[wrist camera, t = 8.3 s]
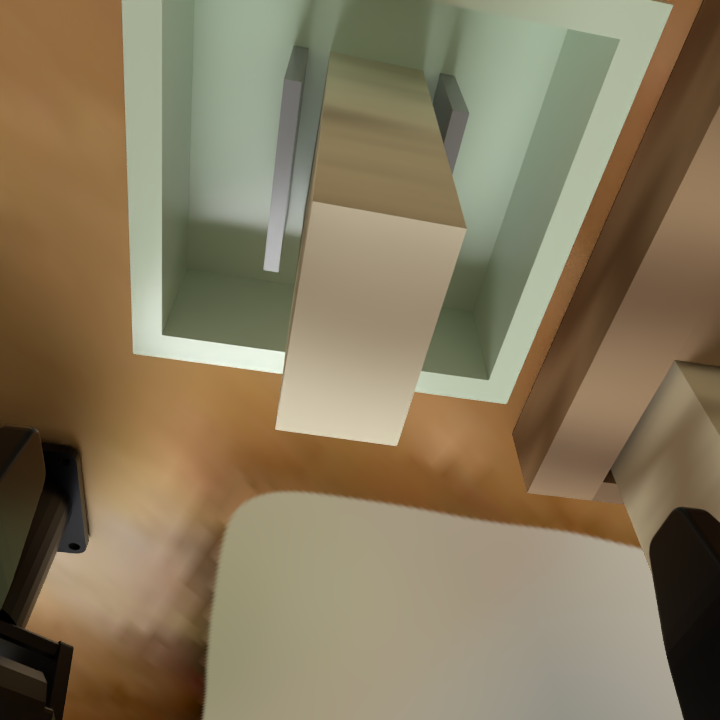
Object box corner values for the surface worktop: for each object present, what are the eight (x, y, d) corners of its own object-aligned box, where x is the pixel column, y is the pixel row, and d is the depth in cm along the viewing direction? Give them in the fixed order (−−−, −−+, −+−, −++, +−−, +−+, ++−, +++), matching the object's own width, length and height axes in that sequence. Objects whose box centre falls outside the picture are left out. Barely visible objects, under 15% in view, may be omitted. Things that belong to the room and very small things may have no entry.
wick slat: (650, 426, 27) (757, 643, 20) (590, 418, 26) (676, 636, 19) (713, 323, 24) (867, 536, 17) (646, 313, 23) (773, 525, 16)
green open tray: (486, 327, 24) (506, 404, 20) (164, 279, 22) (132, 353, 19) (614, -28, 17) (673, 5, 14) (165, -124, 16) (118, -112, 13)
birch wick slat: (382, 237, 21) (397, 445, 14) (302, 223, 21) (275, 429, 14) (423, 70, 18) (467, 229, 11) (330, 51, 18) (312, 200, 11)
